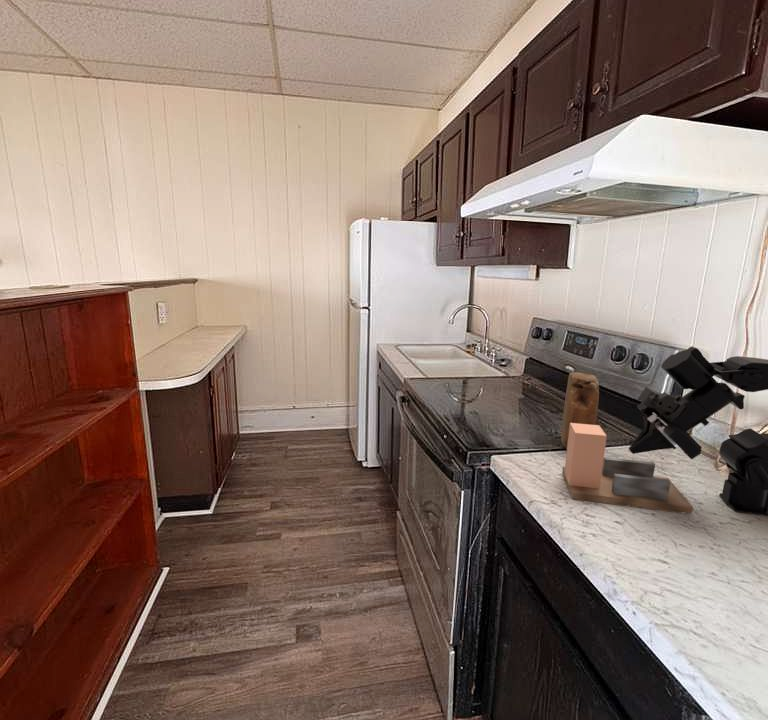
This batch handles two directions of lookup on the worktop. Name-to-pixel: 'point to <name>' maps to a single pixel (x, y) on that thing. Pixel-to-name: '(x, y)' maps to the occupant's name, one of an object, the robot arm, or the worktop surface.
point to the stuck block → (585, 455)
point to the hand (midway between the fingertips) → (630, 451)
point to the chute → (632, 487)
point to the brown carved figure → (580, 402)
